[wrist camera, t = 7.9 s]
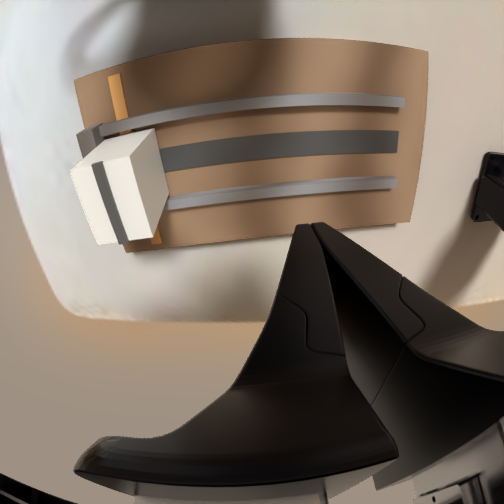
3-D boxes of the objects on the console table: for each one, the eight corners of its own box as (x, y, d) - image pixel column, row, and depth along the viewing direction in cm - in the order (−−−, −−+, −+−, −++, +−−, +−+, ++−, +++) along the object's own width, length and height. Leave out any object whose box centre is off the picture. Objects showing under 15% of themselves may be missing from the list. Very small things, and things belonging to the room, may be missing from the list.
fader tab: (154, 127, 14) (127, 156, 11) (169, 193, 17) (152, 240, 13) (104, 138, 14) (67, 171, 11) (123, 201, 17) (97, 247, 13)
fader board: (415, 49, 13) (443, 53, 11) (400, 211, 21) (419, 233, 18) (85, 77, 13) (60, 84, 11) (131, 240, 21) (120, 267, 18)
